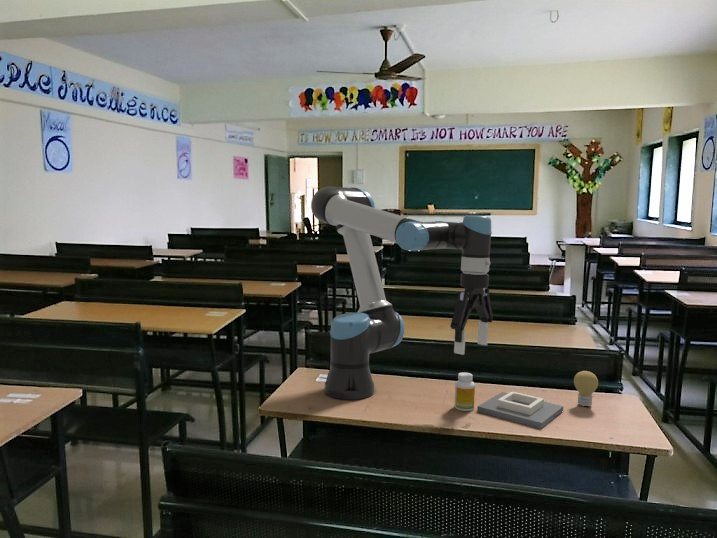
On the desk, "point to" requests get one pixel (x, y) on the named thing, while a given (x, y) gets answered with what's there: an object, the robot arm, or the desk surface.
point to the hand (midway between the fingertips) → (471, 349)
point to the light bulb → (585, 387)
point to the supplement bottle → (464, 392)
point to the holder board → (521, 409)
